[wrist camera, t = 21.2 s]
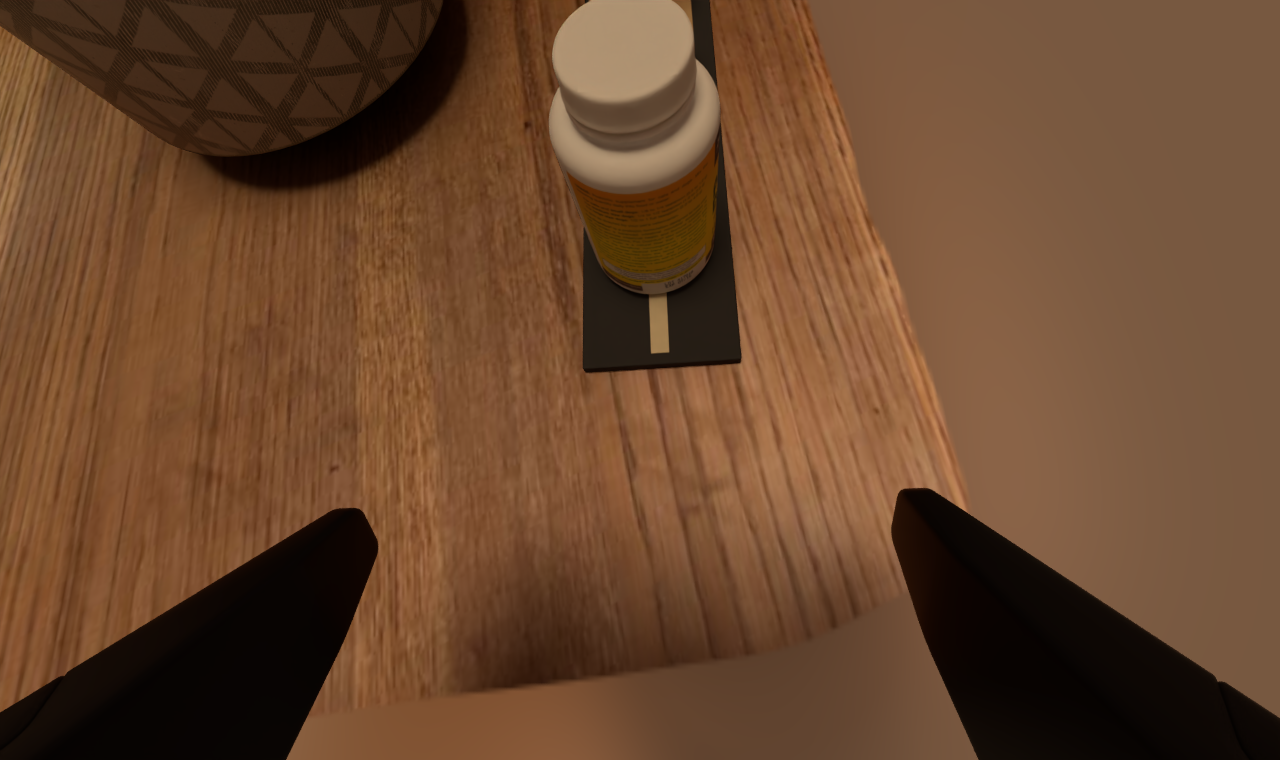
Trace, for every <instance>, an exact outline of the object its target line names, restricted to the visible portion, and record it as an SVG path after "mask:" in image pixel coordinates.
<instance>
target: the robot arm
mask: <svg viewBox="0 0 1280 760" xmlns="http://www.w3.org/2000/svg"><path fill="white" fill-rule="evenodd" d="M891 533H892V540H893V544H894V547H895V550H896V553H897V556H898V559H899V562H900V565H901V568H902V571H903V575H904V578H905V581H906V584H907V587H908V590H909V593H910V596H911V599H912V602H913V605H914V608H915V611H916V614H917V618H918V621H919V624H920V626H921V629H922V632H923V635H924V638H925V640H926V643H927V645H928V647H929V650H930V652H931V655H932V657H933V659H934V661H935V664H936V666H937V668H938V670H939V672H940V675H941V677H942V679H943V681H944V684H945V686H946V688H947V690H948V693H949V695H950V697H951V699H952V701H953V704H954V706H955V708H956V710H957V713H958V715H959V717H960V719H961V722H962V724H963V726H964V728H965V730H966V733H967V735H968V737H969V739H970V742H971V744H972V746H973V748H974V751H975V753H976V755H977V757H978V759H979V760H1280V718H1279V717H1277V716H1276V715H1274V714H1273V713H1271V712H1269V711H1268V710H1267V709H1265V708H1263V707H1262V706H1260V705H1259V704H1257V703H1256V702H1254V701H1253V700H1251V699H1250V698H1248V697H1247V696H1245V695H1244V694H1242V693H1241V692H1239V691H1238V690H1236V689H1235V688H1233V687H1232V686H1230V685H1228V684H1227V683H1225V682H1217V679H1216V677H1215V676H1214V675H1213V674H1211V673H1210V672H1208V671H1207V670H1205V669H1204V668H1202V667H1201V666H1199V665H1198V664H1196V663H1195V662H1193V661H1192V660H1190V659H1189V658H1187V657H1185V656H1184V655H1183V654H1181V653H1179V652H1178V651H1176V650H1175V649H1173V648H1172V647H1170V646H1169V645H1167V644H1166V643H1164V642H1162V641H1161V640H1159V639H1158V638H1157V637H1155V636H1153V635H1152V634H1151V633H1149V632H1147V631H1146V630H1144V629H1143V628H1141V627H1140V626H1138V625H1137V624H1135V623H1134V622H1132V621H1131V620H1129V619H1128V618H1126V617H1125V616H1123V615H1122V614H1120V613H1118V612H1117V611H1115V610H1114V609H1113V608H1111V607H1109V606H1108V605H1106V604H1105V603H1103V602H1102V601H1100V600H1099V599H1097V598H1096V597H1094V596H1093V595H1091V594H1090V593H1088V592H1087V591H1085V590H1084V589H1082V588H1081V587H1079V586H1078V585H1076V584H1075V583H1073V582H1071V581H1070V580H1068V579H1067V578H1065V577H1064V576H1062V575H1061V574H1059V573H1058V572H1056V571H1055V570H1053V569H1052V568H1050V567H1048V566H1047V565H1046V564H1044V563H1043V562H1041V561H1039V560H1038V559H1036V558H1035V557H1033V556H1032V555H1030V554H1029V553H1027V552H1026V551H1024V550H1023V549H1021V548H1020V547H1018V546H1017V545H1015V544H1013V543H1012V542H1011V541H1009V540H1007V539H1006V538H1005V537H1003V536H1002V535H1000V534H998V533H997V532H995V531H994V530H992V529H991V528H989V527H988V526H986V525H985V524H983V523H982V522H980V521H978V520H977V519H976V518H974V517H973V516H971V515H970V514H968V513H967V512H965V511H963V510H962V509H960V508H959V507H957V506H956V505H954V504H953V503H951V502H950V501H948V500H947V499H945V498H944V497H942V496H941V495H939V494H938V493H936V492H935V491H933V490H931V489H928V488H909V489H903V490H901V491H900V492H899V493H898V496H897V501H896V506H895V511H894V516H893V521H892V527H891ZM377 553H378V541H377V538H376V536H375V534H374V532H373V530H372V528H371V526H370V524H369V522H368V520H367V519H366V517H365V515H364V513H363V512H362V511H361V510H360V509H357V508H339V509H335V510H332V511H330V512H328V513H327V514H325V515H324V516H322V517H320V518H319V519H317V520H315V521H314V522H312V523H310V524H309V525H307V526H305V527H304V528H302V529H301V530H299V531H297V532H296V533H294V534H292V535H291V536H289V537H287V538H286V539H284V540H283V541H281V542H279V543H278V544H276V545H274V546H273V547H271V548H269V549H268V550H266V551H265V552H263V553H261V554H260V555H258V556H256V557H255V558H253V559H251V560H250V561H248V562H247V563H245V564H243V565H242V566H240V567H238V568H237V569H235V570H233V571H232V572H230V573H229V574H227V575H225V576H224V577H222V578H220V579H219V580H217V581H215V582H214V583H212V584H211V585H209V586H207V587H206V588H204V589H202V590H201V591H199V592H197V593H196V594H194V595H193V596H191V597H189V598H188V599H186V600H184V601H183V602H181V603H179V604H178V605H176V606H174V607H173V608H171V609H170V610H168V611H166V612H165V613H163V614H161V615H160V616H158V617H156V618H155V619H153V620H152V621H150V622H148V623H147V624H145V625H143V626H142V627H140V628H138V629H137V630H135V631H134V632H132V633H130V634H129V635H127V636H125V637H124V638H122V639H120V640H119V641H117V642H116V643H114V644H112V645H111V646H109V647H107V648H106V649H104V650H102V651H101V652H99V653H98V654H96V655H94V656H93V657H91V658H89V659H88V660H86V661H84V662H83V663H81V664H80V665H78V666H76V667H75V668H73V669H71V670H70V671H68V672H67V673H66V675H65V676H60V677H58V678H56V679H55V680H53V681H51V682H50V683H48V684H46V685H45V686H43V687H42V688H40V689H38V690H37V691H35V692H33V693H32V694H30V695H29V696H27V697H25V698H24V699H22V700H20V701H19V702H17V703H15V704H14V705H12V706H10V707H9V708H7V709H5V710H4V711H2V712H0V760H286V759H287V757H288V754H289V753H290V751H291V748H292V746H293V744H294V742H295V740H296V738H297V736H298V734H299V732H300V730H301V728H302V726H303V724H304V722H305V720H306V718H307V716H308V714H309V712H310V710H311V708H312V706H313V704H314V702H315V700H316V698H317V696H318V693H319V691H320V689H321V687H322V685H323V683H324V681H325V679H326V677H327V675H328V673H329V671H330V669H331V667H332V665H333V663H334V661H335V659H336V657H337V655H338V653H339V650H340V648H341V646H342V644H343V642H344V639H345V637H346V635H347V632H348V630H349V627H350V625H351V622H352V620H353V617H354V614H355V612H356V609H357V607H358V604H359V601H360V599H361V596H362V593H363V591H364V588H365V586H366V583H367V580H368V578H369V575H370V573H371V570H372V567H373V565H374V562H375V560H376V557H377Z"/></svg>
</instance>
